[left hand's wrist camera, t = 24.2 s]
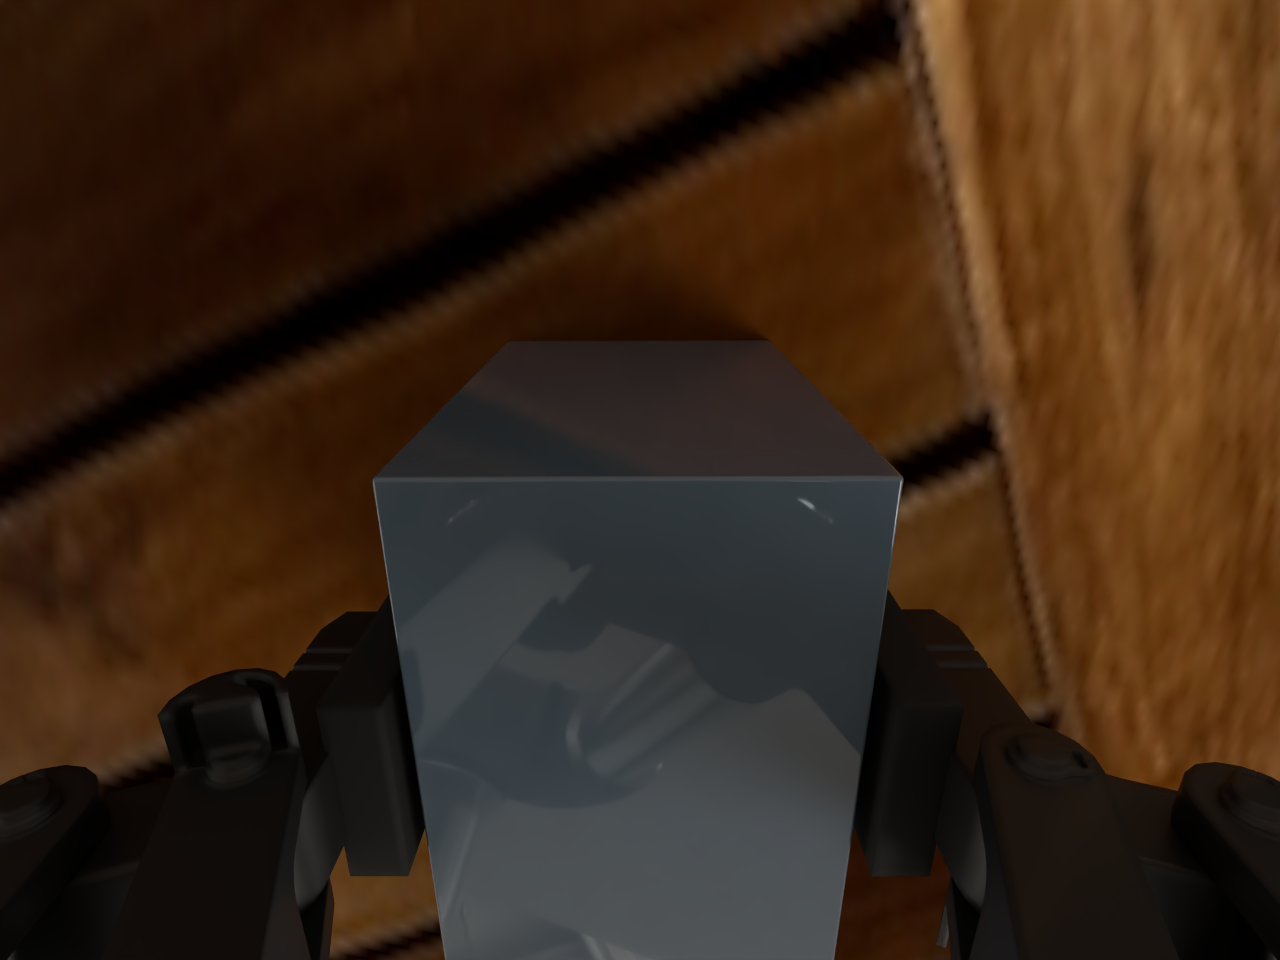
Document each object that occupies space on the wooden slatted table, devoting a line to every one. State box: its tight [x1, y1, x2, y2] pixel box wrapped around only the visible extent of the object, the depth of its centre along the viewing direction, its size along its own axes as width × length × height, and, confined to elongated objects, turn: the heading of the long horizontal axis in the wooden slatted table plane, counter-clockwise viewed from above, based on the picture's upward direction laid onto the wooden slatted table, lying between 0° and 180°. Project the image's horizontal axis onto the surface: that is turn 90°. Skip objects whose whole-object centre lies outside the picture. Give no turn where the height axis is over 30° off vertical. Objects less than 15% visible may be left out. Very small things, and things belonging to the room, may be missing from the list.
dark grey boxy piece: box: [372, 341, 903, 960], centre depth 13 cm, size 8×6×8 cm
